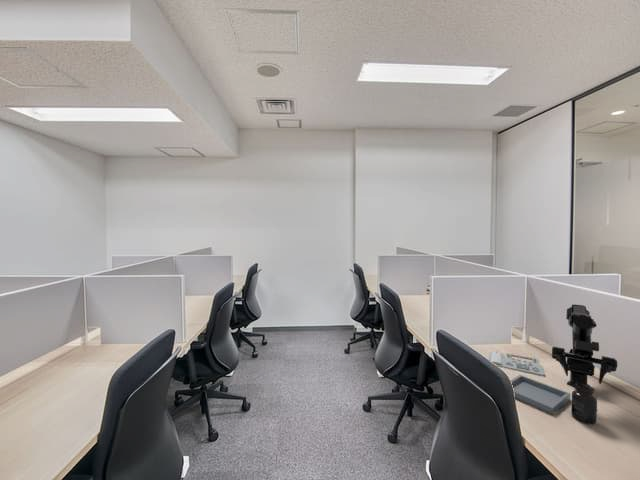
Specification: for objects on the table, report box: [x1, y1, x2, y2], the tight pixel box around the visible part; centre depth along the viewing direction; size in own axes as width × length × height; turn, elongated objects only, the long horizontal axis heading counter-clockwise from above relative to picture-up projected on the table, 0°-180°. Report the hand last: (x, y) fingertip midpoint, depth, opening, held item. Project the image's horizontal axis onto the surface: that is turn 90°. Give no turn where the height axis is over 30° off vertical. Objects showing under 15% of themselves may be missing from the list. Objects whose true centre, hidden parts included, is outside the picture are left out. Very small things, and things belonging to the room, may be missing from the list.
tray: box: [510, 374, 571, 416], centre depth 118 cm, size 18×18×3 cm
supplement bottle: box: [570, 383, 598, 425], centre depth 104 cm, size 7×7×12 cm
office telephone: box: [488, 350, 546, 377], centre depth 149 cm, size 23×3×20 cm
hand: (583, 379), depth 108 cm, fingers open, 9 cm apart
